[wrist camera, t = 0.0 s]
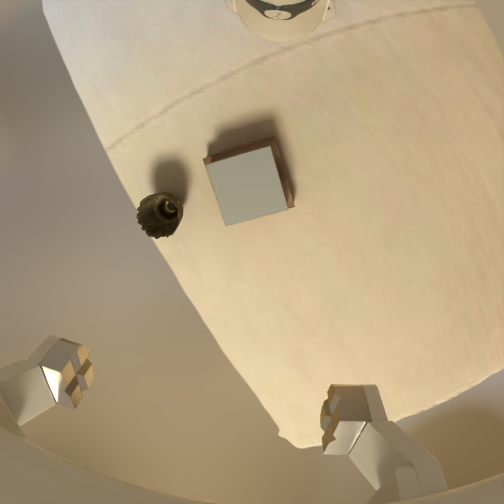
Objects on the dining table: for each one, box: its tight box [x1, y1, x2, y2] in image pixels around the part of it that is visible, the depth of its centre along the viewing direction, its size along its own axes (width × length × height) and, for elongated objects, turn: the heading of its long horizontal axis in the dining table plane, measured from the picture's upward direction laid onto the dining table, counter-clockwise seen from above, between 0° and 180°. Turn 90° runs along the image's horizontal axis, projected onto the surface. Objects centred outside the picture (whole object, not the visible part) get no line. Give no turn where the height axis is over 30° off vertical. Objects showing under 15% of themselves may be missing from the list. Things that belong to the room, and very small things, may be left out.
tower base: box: [203, 136, 295, 209], centre depth 53 cm, size 12×12×4 cm
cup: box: [137, 192, 183, 239], centre depth 53 cm, size 8×7×8 cm
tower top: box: [206, 145, 288, 226], centre depth 49 cm, size 10×10×4 cm
